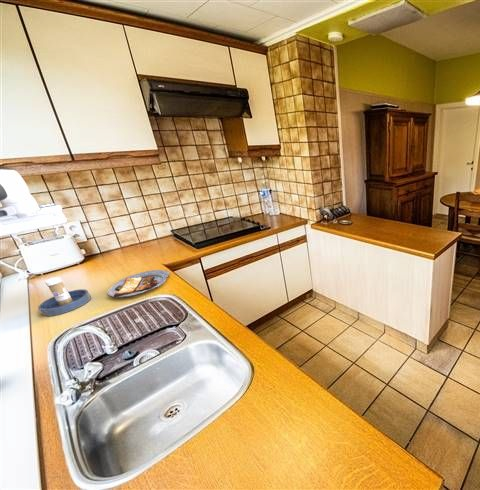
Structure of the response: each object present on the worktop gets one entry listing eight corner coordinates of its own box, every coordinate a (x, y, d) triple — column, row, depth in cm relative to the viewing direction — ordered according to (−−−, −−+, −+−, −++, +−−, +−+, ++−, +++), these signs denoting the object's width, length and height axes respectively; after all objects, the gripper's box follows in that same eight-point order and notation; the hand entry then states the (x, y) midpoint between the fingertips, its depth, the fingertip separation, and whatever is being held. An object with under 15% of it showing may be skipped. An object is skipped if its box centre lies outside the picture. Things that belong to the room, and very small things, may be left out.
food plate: (161, 293, 126) (158, 287, 125) (100, 306, 119) (96, 299, 117) (174, 270, 148) (172, 264, 146) (123, 279, 140) (120, 274, 139)
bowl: (42, 321, 110) (37, 314, 109) (42, 307, 120) (38, 300, 118) (93, 303, 121) (89, 297, 119) (89, 291, 130) (86, 285, 129)
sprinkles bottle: (58, 308, 117) (41, 283, 112) (63, 303, 121) (47, 278, 116) (72, 305, 119) (56, 280, 114) (76, 300, 123) (61, 275, 118)
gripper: (57, 201, 118) (72, 230, 123) (-19, 213, 103) (3, 245, 108) (60, 202, 115) (75, 232, 120) (-18, 215, 99) (4, 248, 105)
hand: (40, 239), depth 114 cm, fingers open, 8 cm apart
